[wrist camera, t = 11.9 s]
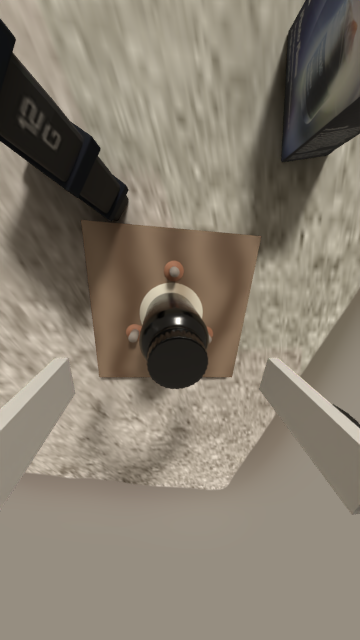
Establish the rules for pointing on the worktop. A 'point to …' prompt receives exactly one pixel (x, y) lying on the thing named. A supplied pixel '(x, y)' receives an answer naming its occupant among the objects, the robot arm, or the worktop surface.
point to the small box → (322, 79)
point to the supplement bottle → (174, 341)
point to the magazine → (52, 137)
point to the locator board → (165, 288)
